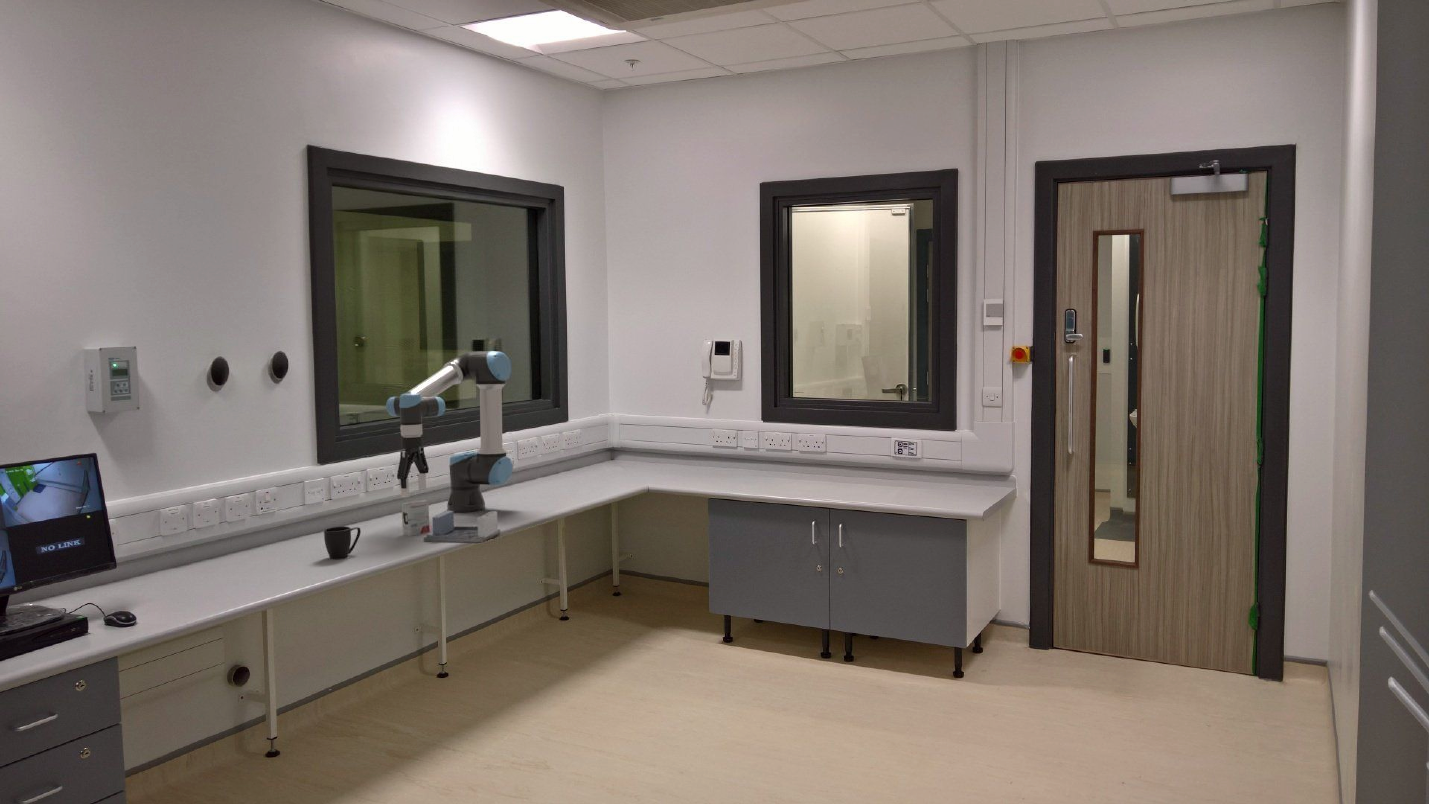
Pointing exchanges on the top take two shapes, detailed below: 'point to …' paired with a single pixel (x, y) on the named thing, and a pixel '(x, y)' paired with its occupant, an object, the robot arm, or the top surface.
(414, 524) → the ink box
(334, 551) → the mug
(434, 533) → the block
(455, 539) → the base
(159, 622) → the top surface
